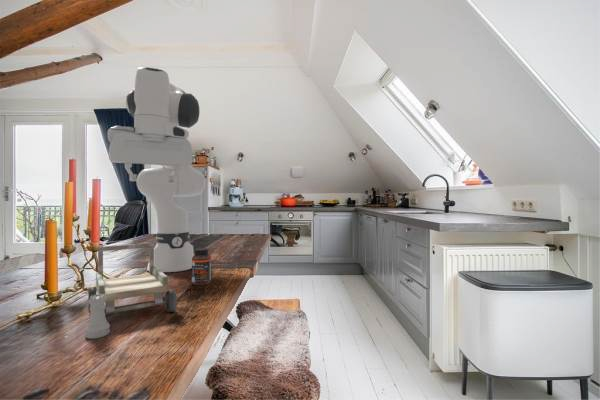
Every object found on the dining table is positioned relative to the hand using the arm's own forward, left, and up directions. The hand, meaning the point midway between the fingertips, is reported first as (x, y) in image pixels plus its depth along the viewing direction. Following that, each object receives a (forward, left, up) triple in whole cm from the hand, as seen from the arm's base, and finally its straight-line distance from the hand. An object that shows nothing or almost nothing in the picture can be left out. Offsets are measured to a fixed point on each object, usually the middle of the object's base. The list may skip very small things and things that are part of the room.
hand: (152, 181), depth 86 cm
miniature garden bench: (+4, -6, -32) cm, 33 cm away
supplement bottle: (-10, +16, -32) cm, 38 cm away
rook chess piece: (+16, -13, -32) cm, 38 cm away
